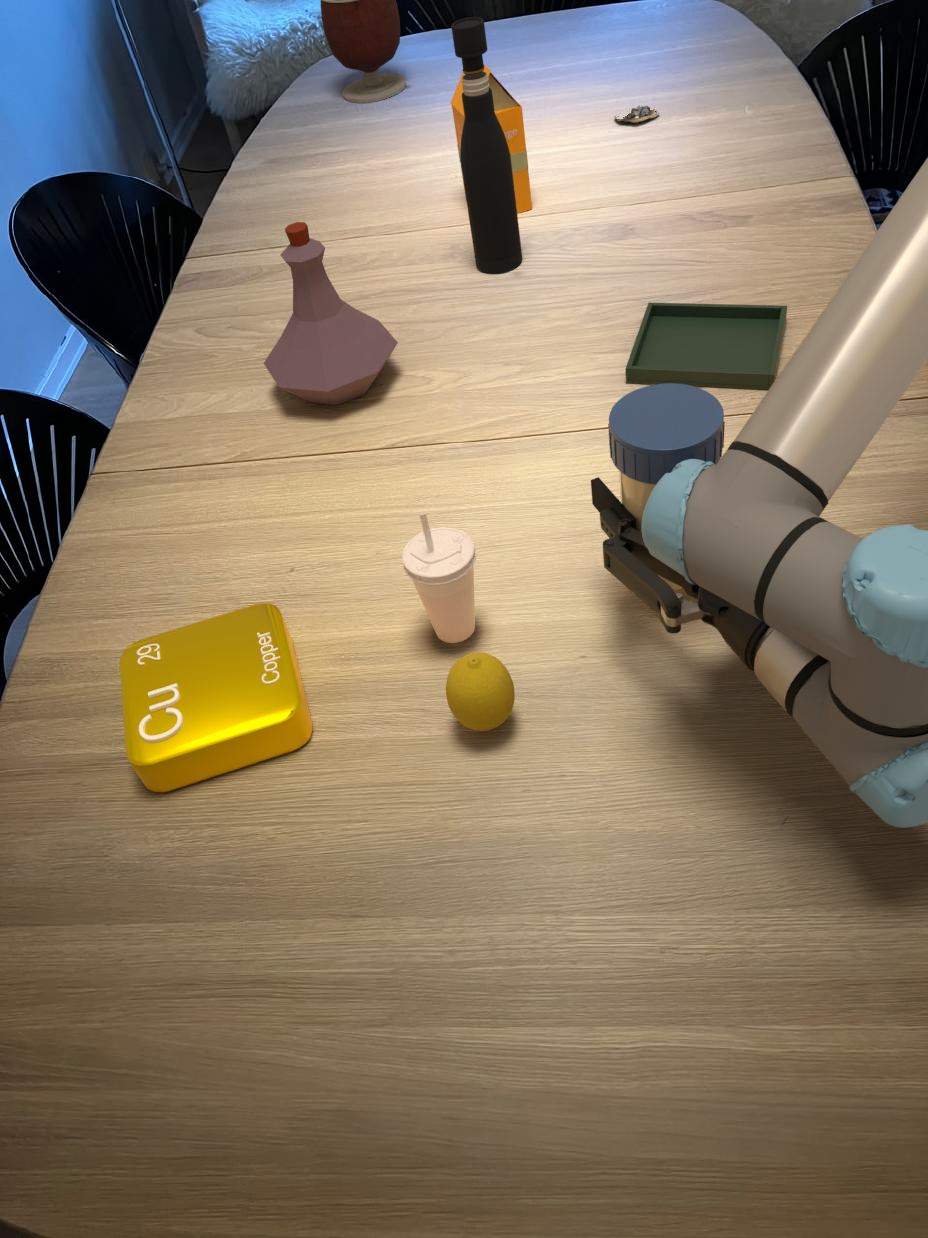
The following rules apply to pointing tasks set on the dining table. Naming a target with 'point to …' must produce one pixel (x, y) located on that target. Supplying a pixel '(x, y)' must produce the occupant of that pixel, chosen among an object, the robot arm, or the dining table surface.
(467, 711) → the lemon
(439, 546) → the smoothie
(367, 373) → the flask
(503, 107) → the orange juice
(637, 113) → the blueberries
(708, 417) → the lid
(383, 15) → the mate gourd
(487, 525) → the dining table surface
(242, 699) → the element tile
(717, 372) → the tray
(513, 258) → the black water bottle
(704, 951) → the dining table surface
